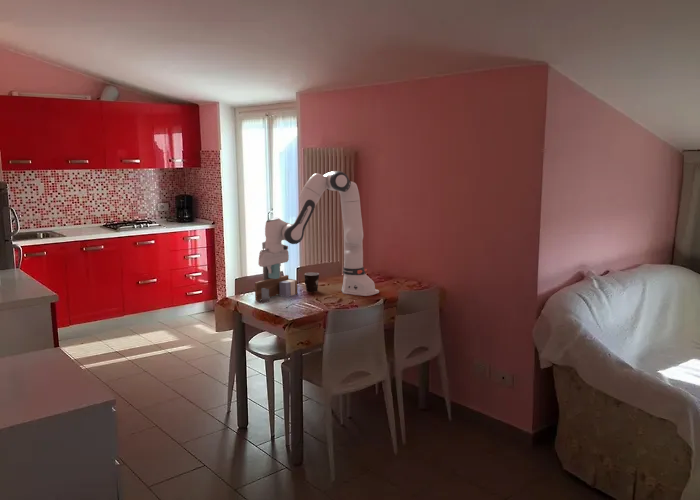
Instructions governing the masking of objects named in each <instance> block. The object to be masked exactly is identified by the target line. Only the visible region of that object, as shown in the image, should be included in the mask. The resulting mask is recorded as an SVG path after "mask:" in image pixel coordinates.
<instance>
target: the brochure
mask: <svg viewBox="0 0 700 500" xmlns="http://www.w3.org/2000/svg"><path fill="white" fill-rule="evenodd" d="M261 245H262V246H261V247H262V249H261V250H264V249H265V241H263V242H262V243H261ZM279 273H280V274H281V267H280V268H279ZM262 279H263V280H267V279H271V278H269V277H268V268H267V266H266V267H262ZM263 280H262V281H263Z"/></svg>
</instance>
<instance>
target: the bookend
mask: <svg viewBox="0 0 700 500" xmlns="http://www.w3.org/2000/svg"><path fill="white" fill-rule="evenodd" d="M261 289H262V299H261V300H255V301H256V303H259V304H266V303H268V302H270V297H269V289H266V288H261Z"/></svg>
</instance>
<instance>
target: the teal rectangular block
mask: <svg viewBox="0 0 700 500" xmlns="http://www.w3.org/2000/svg"><path fill="white" fill-rule="evenodd" d="M271 270H273V273H269V270H268V277H269V278H272V279H277V278H280V276H281V272H280V273H279V264H274V265H271Z"/></svg>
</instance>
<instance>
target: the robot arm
mask: <svg viewBox="0 0 700 500" xmlns="http://www.w3.org/2000/svg"><path fill="white" fill-rule="evenodd" d="M326 190H327V191H331V192H332V191H333V192H338V193H339V196H340V206H341V207H340V208H341V219H342V228H343V270H342V272H343V273H342V274H343V280H342V287H341V292H342V294H346V295H352V296H353V295H354V296H362V297H363V296H364V297H367V296H368V297H369V296H373V295H376V294H379V293H380V290H379V289H376V286H375V285H376V283H375V282H374V280H373V279H372V278H370V277H369V275H367V273H366V272H367V268H364V267H365V266H364V249H363V246H364V245H363V240H364V228H363V226H364V225H363V219H362V210H361V209H362V208H361V198H360V191H359V189H358V185H357V183H356V182H354V181H351V180H350V178H349V176H348V175H347V174H346V173H345V172H343V171H341V170H340V171H339V170H332V171H328V172H325V173H324V174H321V173H317V172H316V173H313V174H312V175H311V176H310V177H309V178H308V180H307V181H306V183H305V184H304V186H303V188H302V189H301V191H300V193H299V196H298V200H299V203H300V207H301V209H300V211H299V212H298V214H297V217H296V218H295V220H294V222H293V223H289V222H286V221H284V220H282V219H281V218H280V217H279V218H278V217H272V218H269V219H267V220H266V222H265V227H264V235H265V236H264V237H265V241H264V242H265V249H264V250H262V249H261V250H260V251H259V255H258V256H259V257H258V266H259V267H262V268H263V267H266V266H267V268H268V270H269V273H273V270H271V265H274V264H279V268H280V269H281V266H282V265H281V264H283V263H288V262H289V260H290V259H289V258H290V257H289V256H290V255H289V246H288V245H286V244H283V243H282V241H286V242H287V243H289V244H290V245H297V244H299V243H300V242H301V241H302V240H303V239H304V236H305V229H306V227H307V225H308V222H309V221H310V219H311V218H312V215H313V213H314V211H315V208H316V206H317V204H318V203H319V201H320V199H321V198H322V195H323V194H324V192H325V191H326Z"/></svg>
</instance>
